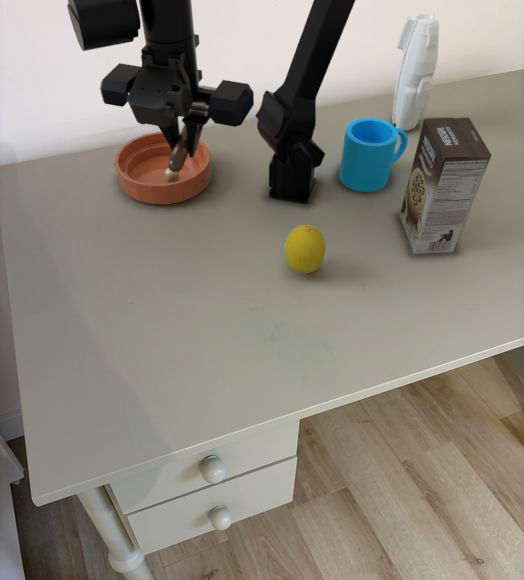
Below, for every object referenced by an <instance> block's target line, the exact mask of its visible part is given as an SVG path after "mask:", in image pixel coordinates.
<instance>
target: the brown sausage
mask: <svg viewBox="0 0 524 580" xmlns="http://www.w3.org/2000/svg"><path fill="white" fill-rule="evenodd" d="M183 124H184V123H183ZM188 153H189V152H188V144H187V129H186V125H185V124H184V125H183V127H182V129H181V131H180V136H179V138H178V140H177V142H176V145H175V147H174V149H173V152H172V154H171V156H170V159H169V161H168V167H169V169H170V170H171V171H172V172H179V171H181V169H182V167H183V165H184V163H185V160H186V158H187V156H188Z"/></svg>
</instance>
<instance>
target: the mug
mask: <svg viewBox="0 0 524 580" xmlns="http://www.w3.org/2000/svg"><path fill="white" fill-rule="evenodd" d="M394 125H395V124H394ZM394 125H392V123H391V122H389V121H387V120H385V119H381V118H377V117H375V118H374V117H361V118H357V119H354V120H352V121H349V123H348V124H347V125H346V127H345V131H344V136H343V145H342V153H341V160H340V167H339V175H338V176H339V180H340V182H341V184H343V185H344V186H345V187H347V188H348V189H351V190H352V191H355V192H361V193H372V192H377V191H380V190H381V189H383V188H385V187H386V186H387V184H388V181H389V177H390V173H391V168H392V165H393V164H395V163H396V162H397V161H398V160H399V159H400V158H401V157H402V155H403V154H404V153H405V151H406V149H407V147H408V136H407V133H406V131H403V130H402V129H400V128H396V126H394ZM399 136H400V143H399V146H398V147H397V149H396V146H397V142H398V138H399Z"/></svg>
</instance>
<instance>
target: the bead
mask: <svg viewBox="0 0 524 580" xmlns="http://www.w3.org/2000/svg"><path fill="white" fill-rule="evenodd" d="M164 177H165V179H166V181H168V182H169V183H171V182H176V181H177V180H178V179H179V172H172V171H171V170H170V169H169V168H168V169H166V170H165V173H164Z"/></svg>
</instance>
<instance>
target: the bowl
mask: <svg viewBox="0 0 524 580" xmlns="http://www.w3.org/2000/svg"><path fill="white" fill-rule="evenodd" d="M180 133H181V131H179V134H180ZM172 152H173V151H172V149H171V148H170V146H169V144H168V142H167V140H166V139H165V137H164V135H163V133H162V132H161V131H156V132H150V133H145V134H142V135H140V136H139V135H138V136H137V137H134V138H132V139H131V140H129V141H127V142H126V143H125V144H123V145H122V146H121V147H120V148H119V149H118V151H117V152H116V153H115V156H114V161H113V162H114V163H113V164H114V168H115V172H116V176H117V180H118V183H119V186H120V189H121V190H122V191H123V192H124V193H125V194H126V195H127V196H128V197H130V198H132V199H134V200H136V201H137V202H140V203H146V204H150V205H171V204H175V203H176V204H177V203H181V202H184V201H187V200H189V199H191V198H193V197H195V196H197V195H199V194H200V193H202V191H204V190H205V189H206V188H207V187H208V185H209V184H210V181H211V180H212V157H211V151H210V150H209V148H208V146H207V144H206V143H205V142H203V141H202V140H201V139H199V143H198V146H197V149H196V153H195V155H194V156H193V158H190V156H189V153H188V156H187V158H186V160H185V163H184V165H183V167H182V169H181V171H179V179H178V180H177V181H176V182H171V183H169V182H168V181H166V179H165V177H164V173H165V170H166V169H168V168H169V167H168V161H169V159H170V156H171V154H172Z"/></svg>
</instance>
